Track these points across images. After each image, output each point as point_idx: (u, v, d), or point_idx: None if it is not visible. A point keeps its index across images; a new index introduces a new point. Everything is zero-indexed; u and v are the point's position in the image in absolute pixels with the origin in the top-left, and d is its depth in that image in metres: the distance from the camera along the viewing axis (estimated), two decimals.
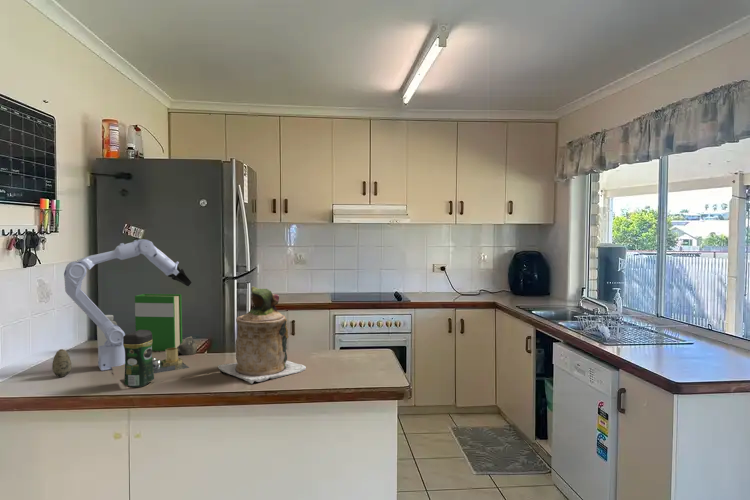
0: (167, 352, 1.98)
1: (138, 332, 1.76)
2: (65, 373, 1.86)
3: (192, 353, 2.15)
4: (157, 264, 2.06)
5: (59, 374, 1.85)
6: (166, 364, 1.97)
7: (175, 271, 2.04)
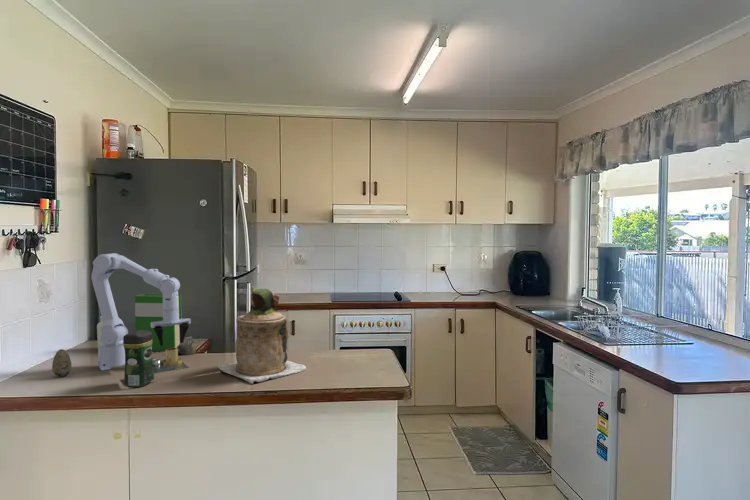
0: (167, 352, 1.98)
1: (138, 332, 1.76)
2: (65, 373, 1.86)
3: (191, 353, 2.15)
4: (163, 307, 1.98)
5: (59, 374, 1.85)
6: (166, 364, 1.97)
7: (151, 324, 1.95)
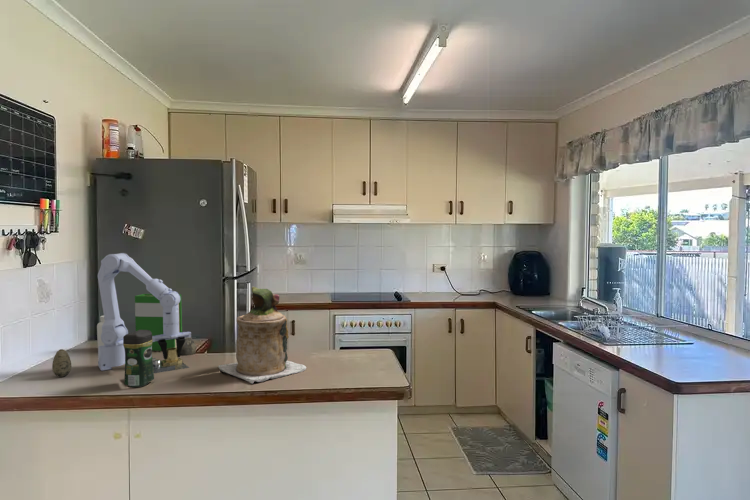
0: (167, 352, 1.98)
1: (138, 332, 1.76)
2: (65, 373, 1.86)
3: (191, 353, 2.14)
4: (163, 321, 1.98)
5: (59, 374, 1.85)
6: (166, 364, 1.97)
7: None
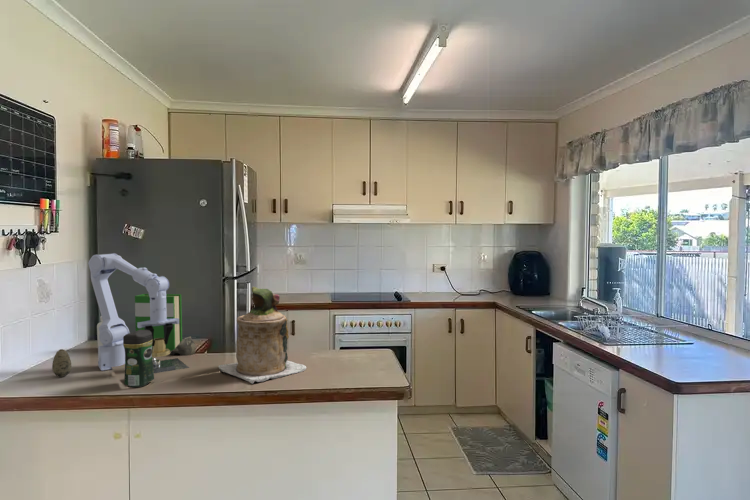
0: (154, 342, 1.92)
1: (138, 332, 1.76)
2: (65, 373, 1.86)
3: (190, 353, 2.14)
4: (150, 307, 1.93)
5: (59, 374, 1.85)
6: (153, 354, 1.91)
7: (137, 324, 1.90)
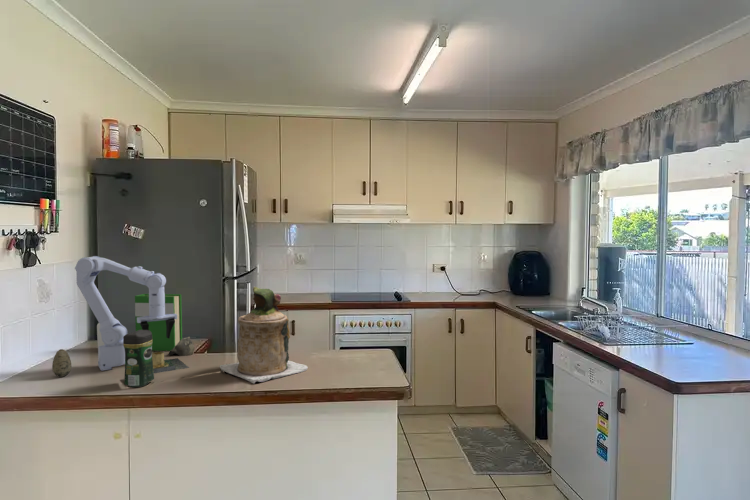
0: (153, 356, 1.92)
1: (138, 332, 1.76)
2: (65, 373, 1.86)
3: (188, 354, 2.13)
4: (149, 303, 1.99)
5: (59, 374, 1.85)
6: None
7: (137, 319, 1.97)
